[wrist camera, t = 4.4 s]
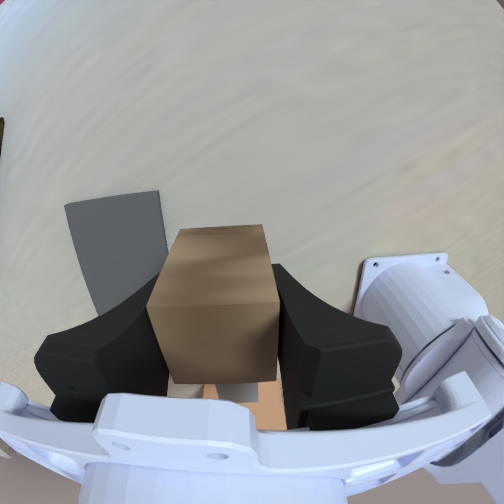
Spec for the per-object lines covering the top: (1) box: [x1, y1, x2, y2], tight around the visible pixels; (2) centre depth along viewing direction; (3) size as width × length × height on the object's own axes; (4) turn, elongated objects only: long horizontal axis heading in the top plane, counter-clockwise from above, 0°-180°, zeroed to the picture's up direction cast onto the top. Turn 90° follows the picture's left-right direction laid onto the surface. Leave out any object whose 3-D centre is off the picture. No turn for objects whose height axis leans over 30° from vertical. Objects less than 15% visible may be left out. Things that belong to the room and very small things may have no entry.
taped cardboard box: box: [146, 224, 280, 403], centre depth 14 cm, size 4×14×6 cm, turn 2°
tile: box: [203, 379, 287, 430], centre depth 23 cm, size 8×2×8 cm, turn 92°
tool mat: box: [64, 190, 170, 373], centre depth 21 cm, size 8×18×1 cm, turn 2°
